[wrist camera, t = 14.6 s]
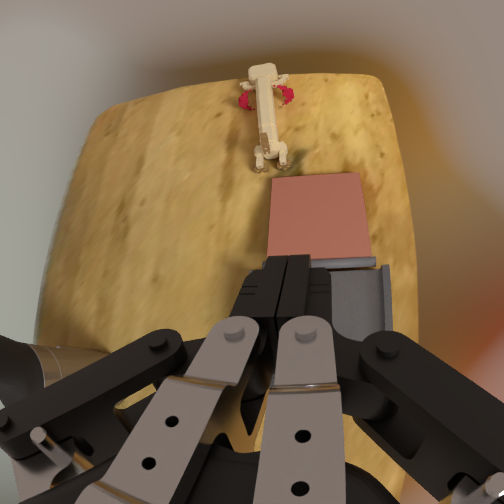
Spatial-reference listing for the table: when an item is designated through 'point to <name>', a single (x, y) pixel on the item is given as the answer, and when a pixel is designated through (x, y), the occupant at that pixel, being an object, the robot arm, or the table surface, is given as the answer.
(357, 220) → the flat pink square board
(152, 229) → the table surface
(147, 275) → the table surface
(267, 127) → the cream blocky figure
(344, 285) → the grey open box
